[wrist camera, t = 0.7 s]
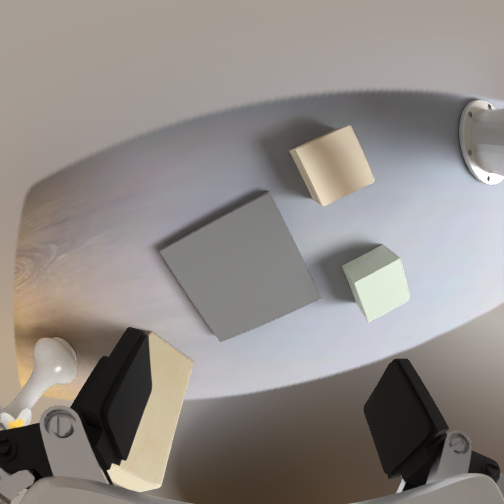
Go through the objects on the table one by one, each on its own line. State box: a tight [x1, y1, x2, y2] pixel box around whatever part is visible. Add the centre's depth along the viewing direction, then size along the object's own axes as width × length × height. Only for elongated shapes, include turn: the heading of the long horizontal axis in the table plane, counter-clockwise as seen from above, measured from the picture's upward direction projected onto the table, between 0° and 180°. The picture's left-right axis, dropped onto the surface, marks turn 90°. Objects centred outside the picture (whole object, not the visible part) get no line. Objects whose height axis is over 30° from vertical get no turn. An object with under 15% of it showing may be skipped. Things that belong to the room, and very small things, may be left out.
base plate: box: [160, 191, 321, 342], centre depth 32 cm, size 14×14×2 cm
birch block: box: [289, 125, 375, 207], centre depth 27 cm, size 6×6×5 cm
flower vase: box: [0, 337, 78, 430], centre depth 27 cm, size 13×18×25 cm
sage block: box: [342, 244, 411, 323], centre depth 31 cm, size 6×6×5 cm
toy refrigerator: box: [107, 332, 193, 492], centre depth 28 cm, size 8×7×21 cm
